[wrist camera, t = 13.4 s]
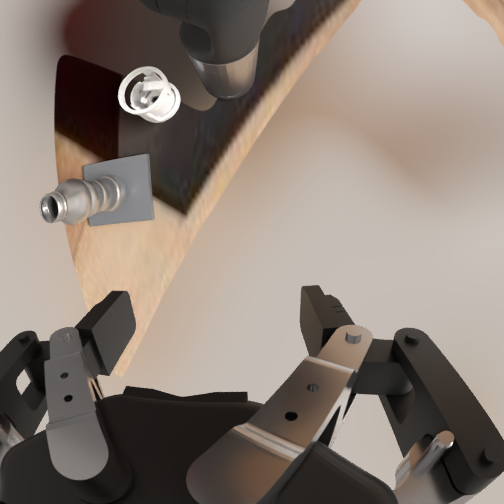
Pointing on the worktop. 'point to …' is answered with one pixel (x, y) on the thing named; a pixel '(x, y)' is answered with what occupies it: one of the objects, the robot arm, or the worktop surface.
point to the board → (138, 189)
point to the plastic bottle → (83, 199)
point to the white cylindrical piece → (150, 95)
